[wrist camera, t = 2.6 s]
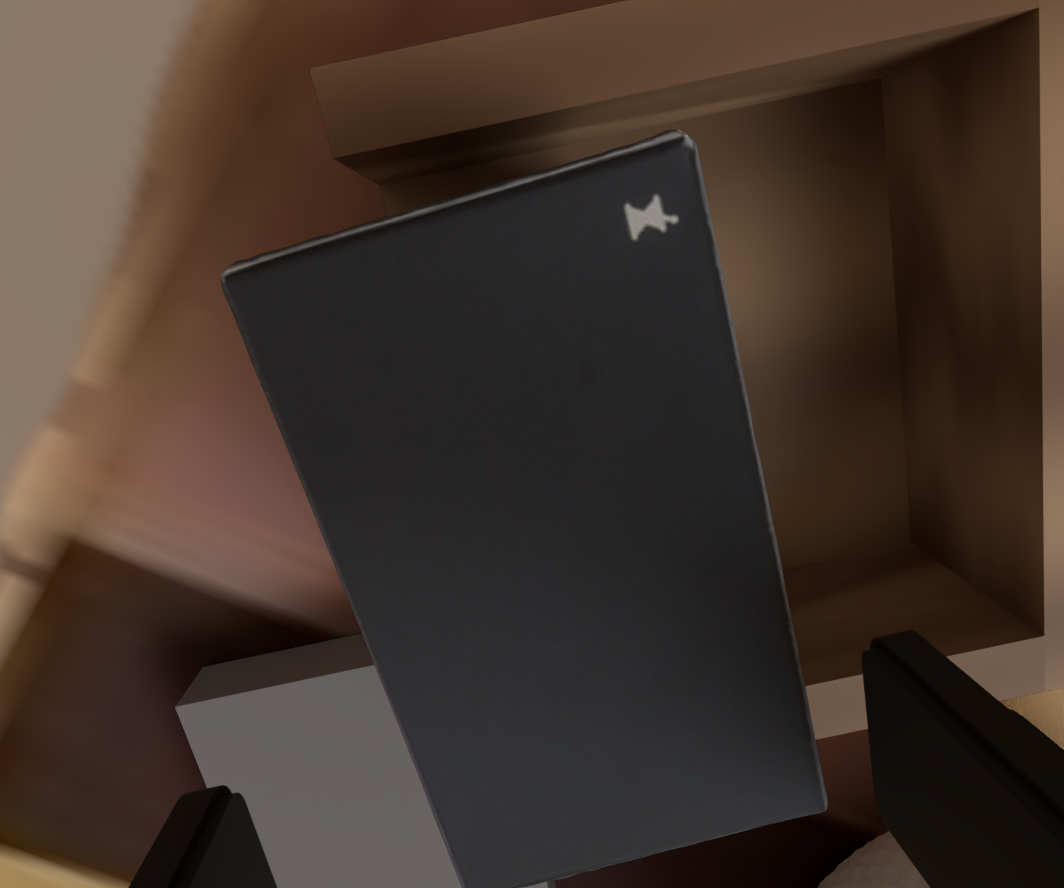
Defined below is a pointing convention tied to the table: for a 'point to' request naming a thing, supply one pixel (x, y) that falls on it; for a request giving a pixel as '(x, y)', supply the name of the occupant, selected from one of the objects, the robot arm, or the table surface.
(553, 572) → the small box
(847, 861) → the cereal bowl
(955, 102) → the box
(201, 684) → the slate stand
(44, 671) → the table surface
